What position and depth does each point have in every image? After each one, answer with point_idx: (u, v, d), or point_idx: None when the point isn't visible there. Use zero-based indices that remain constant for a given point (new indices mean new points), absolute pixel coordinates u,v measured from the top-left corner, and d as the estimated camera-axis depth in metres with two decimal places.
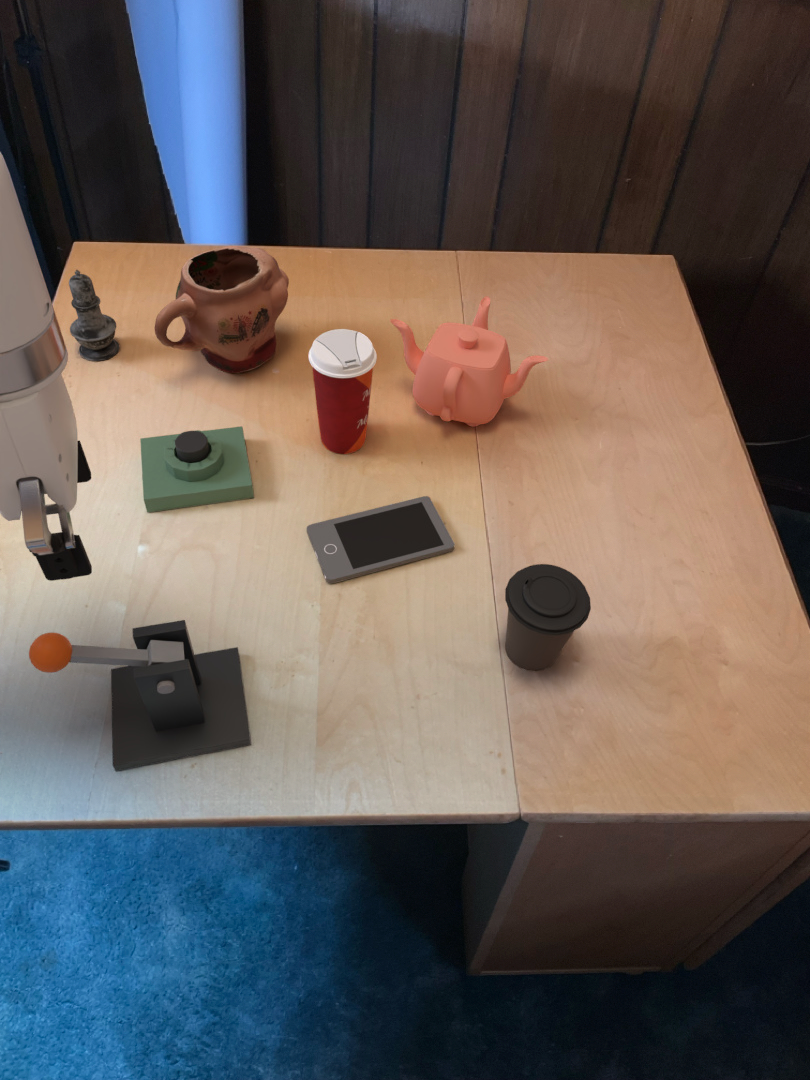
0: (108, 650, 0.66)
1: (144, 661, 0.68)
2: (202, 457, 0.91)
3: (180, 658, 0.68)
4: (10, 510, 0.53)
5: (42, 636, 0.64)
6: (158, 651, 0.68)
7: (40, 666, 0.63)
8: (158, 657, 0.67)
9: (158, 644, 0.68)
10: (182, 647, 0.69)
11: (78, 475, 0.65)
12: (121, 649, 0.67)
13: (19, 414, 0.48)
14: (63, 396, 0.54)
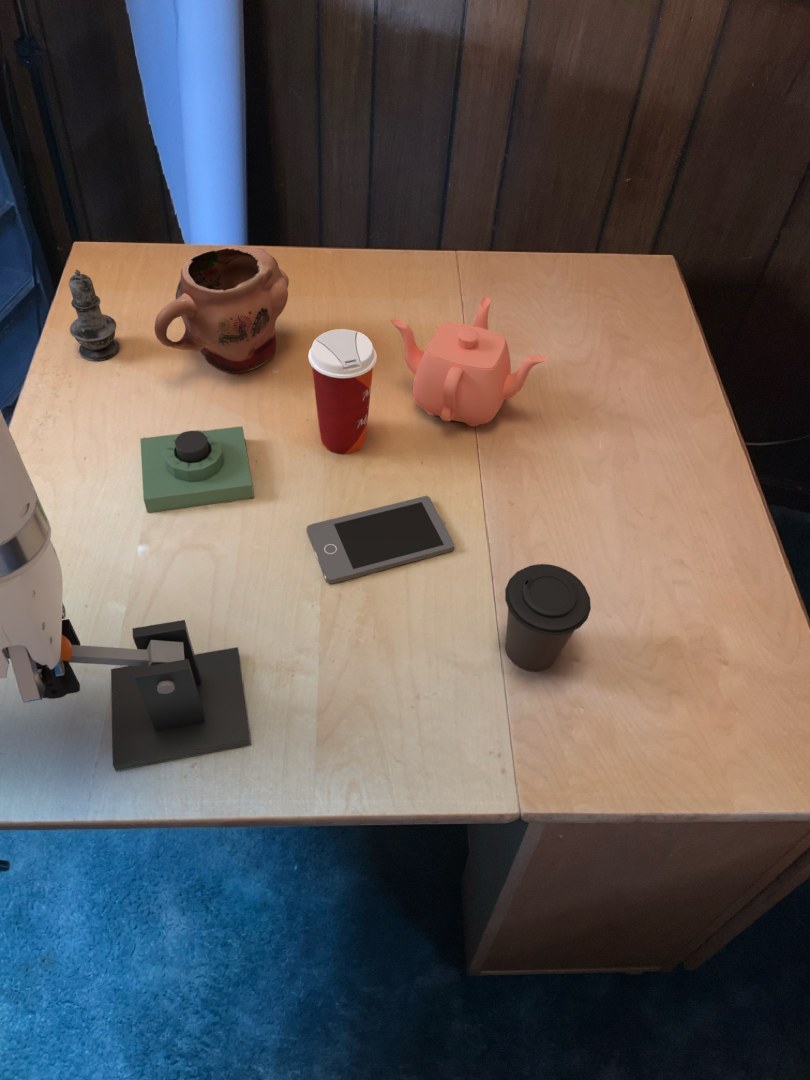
0: (108, 650, 0.66)
1: (144, 661, 0.68)
2: (202, 457, 0.91)
3: (180, 658, 0.68)
4: None
5: None
6: (158, 651, 0.68)
7: None
8: (158, 657, 0.67)
9: (158, 644, 0.68)
10: (182, 647, 0.69)
11: None
12: (121, 649, 0.67)
13: (4, 597, 0.52)
14: (47, 561, 0.58)
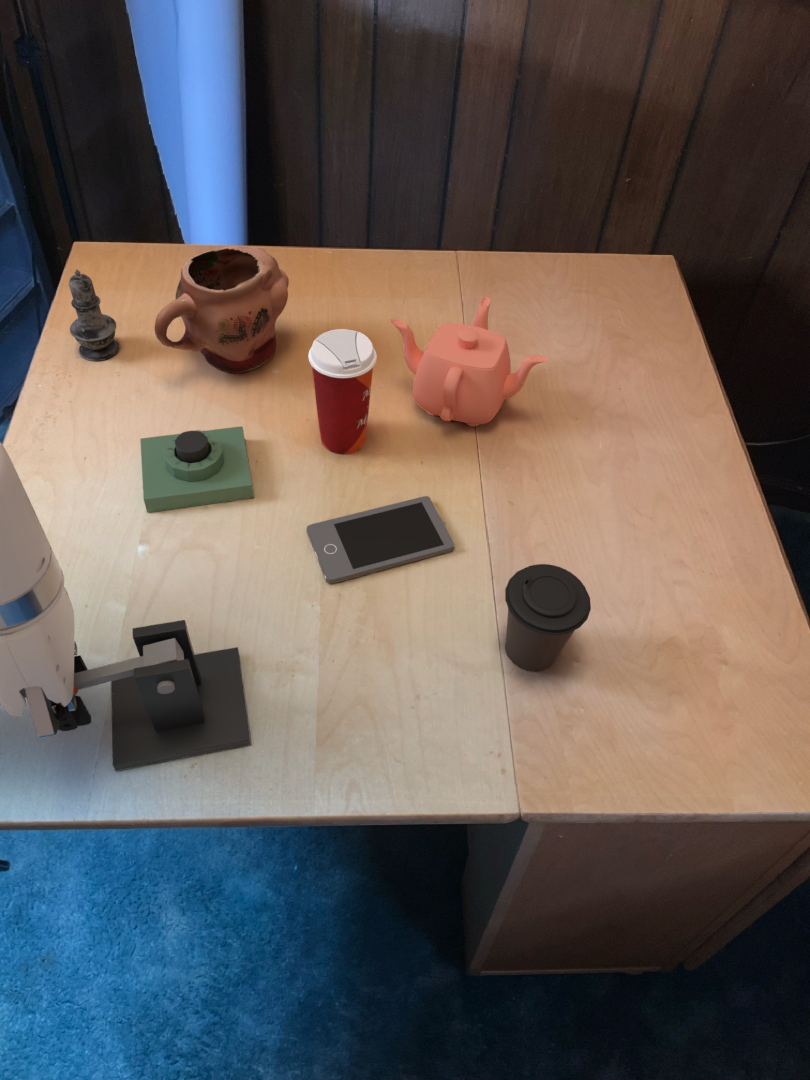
0: (107, 668, 0.68)
1: None
2: (202, 457, 0.91)
3: (171, 655, 0.68)
4: (14, 710, 0.61)
5: None
6: (150, 655, 0.68)
7: None
8: (149, 661, 0.68)
9: (150, 648, 0.68)
10: (174, 643, 0.68)
11: None
12: (119, 663, 0.69)
13: (21, 643, 0.56)
14: (60, 606, 0.62)
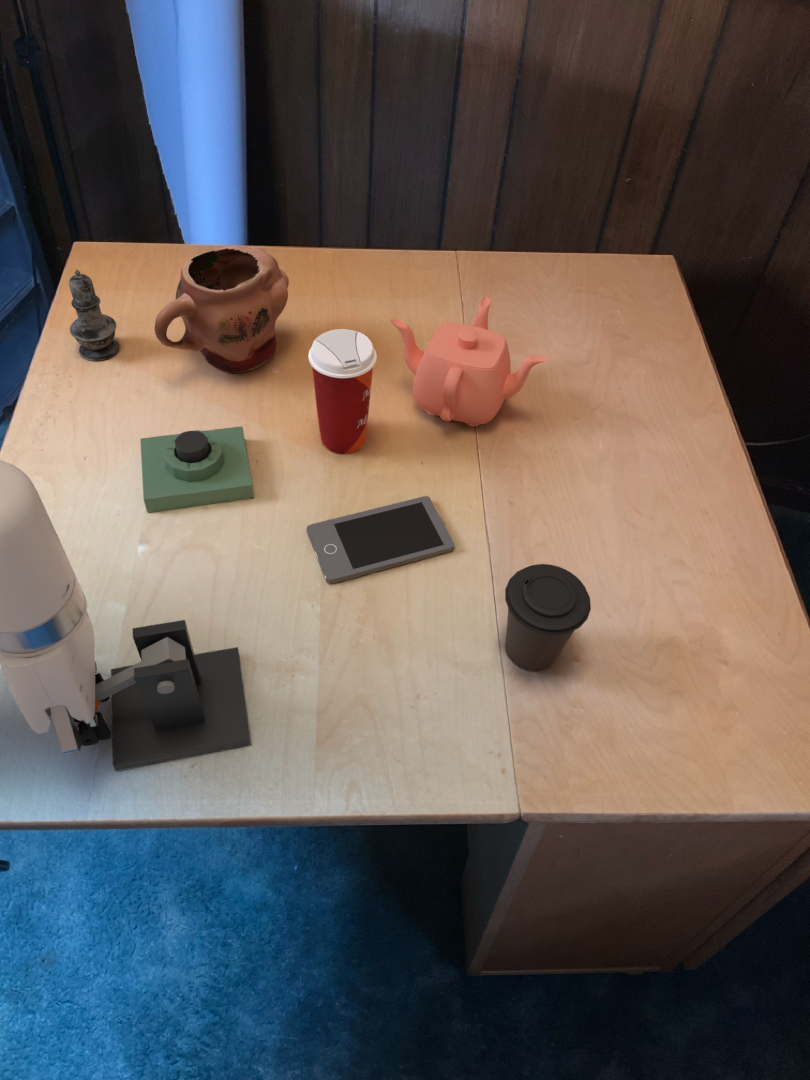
0: (116, 677, 0.70)
1: None
2: (202, 457, 0.91)
3: (164, 655, 0.67)
4: (40, 728, 0.63)
5: None
6: (147, 658, 0.68)
7: None
8: (146, 664, 0.68)
9: (147, 651, 0.69)
10: (166, 642, 0.68)
11: None
12: (125, 670, 0.70)
13: (48, 665, 0.58)
14: (82, 627, 0.64)
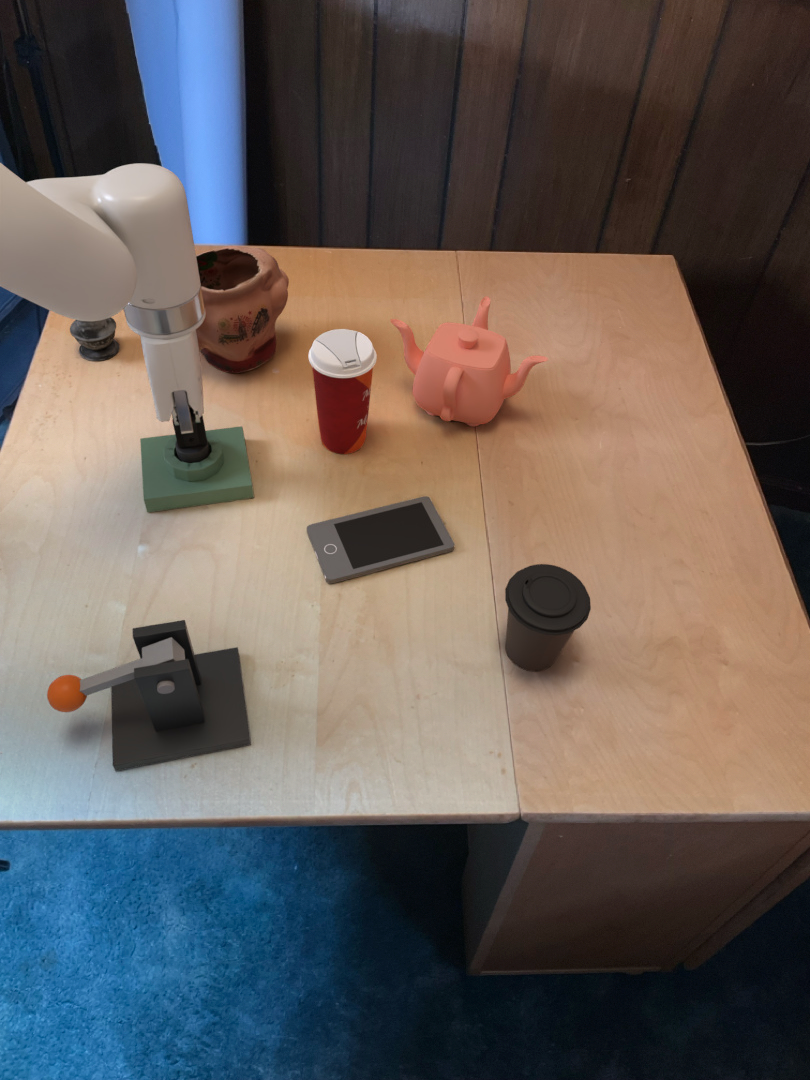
0: (110, 672, 0.69)
1: None
2: (203, 458, 0.92)
3: (168, 655, 0.68)
4: (164, 414, 0.81)
5: (50, 684, 0.69)
6: (148, 656, 0.68)
7: (58, 710, 0.68)
8: (148, 663, 0.68)
9: (148, 649, 0.68)
10: (170, 642, 0.68)
11: None
12: (121, 666, 0.69)
13: (179, 347, 0.76)
14: None
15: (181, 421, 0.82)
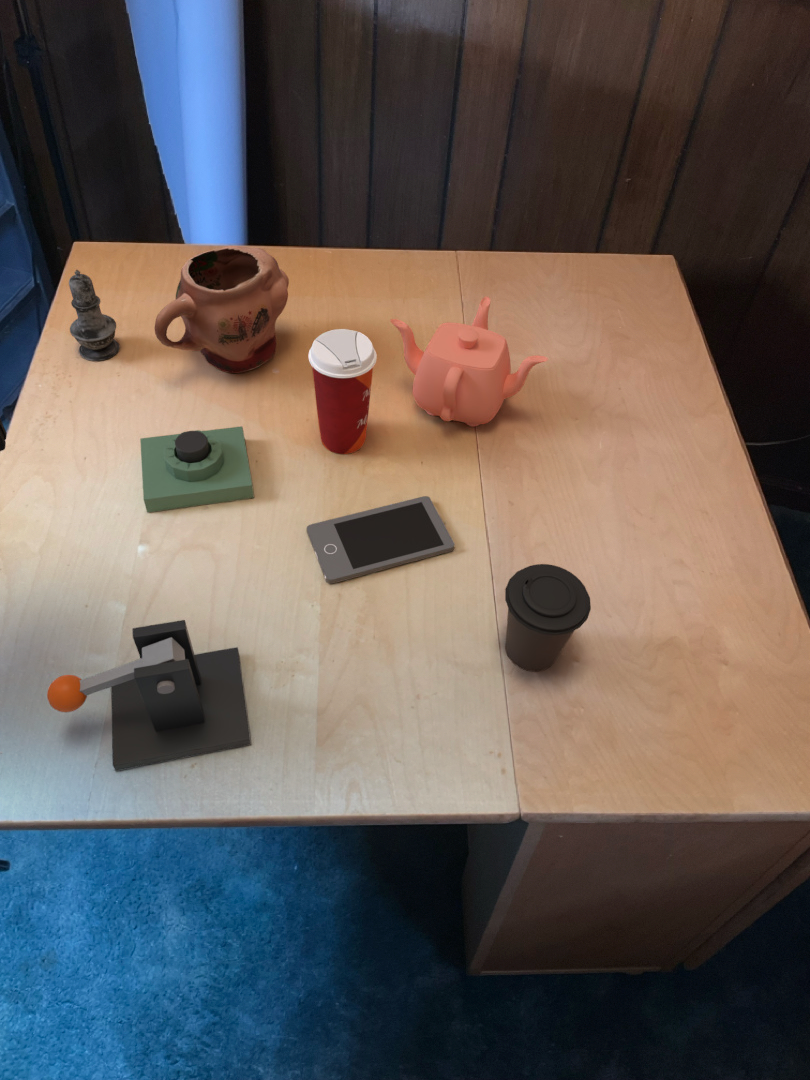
0: (110, 672, 0.69)
1: None
2: (202, 457, 0.91)
3: (168, 655, 0.68)
4: None
5: (50, 684, 0.69)
6: (148, 656, 0.68)
7: (58, 710, 0.68)
8: (148, 663, 0.68)
9: (148, 649, 0.68)
10: (170, 642, 0.68)
11: None
12: (121, 666, 0.69)
13: None
14: None
15: None
